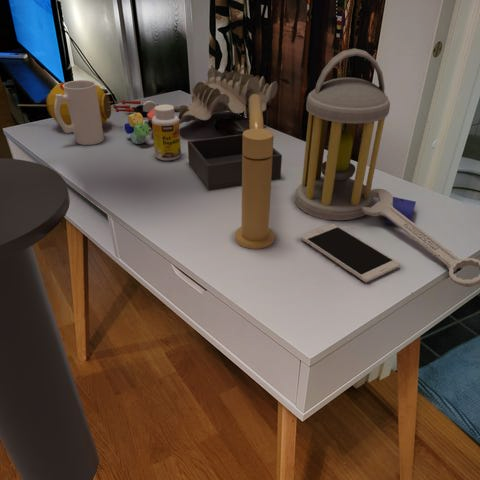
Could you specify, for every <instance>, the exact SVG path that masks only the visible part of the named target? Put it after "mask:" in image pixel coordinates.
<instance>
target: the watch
mask: <svg viewBox="0 0 480 480" xmlns="http://www.w3.org/2000/svg"><path fill="white" fill-rule="evenodd" d="M158 105H159V104H157V103H155V102H154V101H153V100H148V101H145V102H144V103H143V104H142V103H141V104H138V105H136V106H135V107H136V112H135V113H140V114H141V115H142V117H143V119H148V118H147V114H148V113H149V112H150V111H151V110H152V109H153V108H154V107H156V106H158ZM144 111H145V112H144Z"/></svg>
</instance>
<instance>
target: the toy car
mask: <svg viewBox="0 0 480 480" xmlns="http://www.w3.org/2000/svg"><path fill="white" fill-rule="evenodd" d="M213 126H214V127H213V128H214V130H215V131H216V132H218V131H219V132H223V133H225V136H231V135H239V134H243V132H244V131H246V130H248V129H250V125H249V119H247V118H245V117H243V116H228V117H223V118H219V119H216V120H215V121H214V124H213Z"/></svg>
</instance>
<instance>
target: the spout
mask: <svg viewBox="0 0 480 480" xmlns="http://www.w3.org/2000/svg"><path fill="white" fill-rule="evenodd" d="M247 120H248V121H249V125H250V129H248V130H246V131H244V132H243V144H242V153H243V155H244V156H246V157H248V158H252V159H264V158H268V157H270V156H272V154H273V148H274V136H275V135H274V132H273V131H272V130H269V129H266V128H265V127H264V126H265V125H264V115H263V111H262V101H261V98H260V96H259V95H258V94H252V95H251V96H250V98H249V100H248V105H247Z"/></svg>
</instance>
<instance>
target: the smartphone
mask: <svg viewBox="0 0 480 480" xmlns="http://www.w3.org/2000/svg"><path fill="white" fill-rule="evenodd" d="M300 239H301V241H302V242H304V243H305V244H307V245H308V246H310V247H312V248H313V249H315V250H316V251H317V252H319V253H321V254H322V255H324V256H325V257H327V258H328V259H330V260H331V261H332V262H334V263H335V264H337V265H338V266H340V267H341V268H343V269H344V270H346V271H348V272H349V273H350V274H351V275H353V276H355V277H357V278H358V279H360V280H361V281H363V282H364V283H369V282H371V281H373V280H375V279H378V278H379V277H381V276H384V275H385V274H388V273H390V272H391V271H394V270H396V269H398V268H400V267H401V264H400V263H399V261H396V260H395V259H393V258H391V257H389V256H388V255H386V254H384V253H383V252H381V251H379V250H378V249H376V248H374V247H373V246H371V245H370V244H368V243H366V242H365V241H363V240H362V239H359V238H358V237H357V236H355V235H353V234H351V233H350V232H348V231H346V230H345V229H343V228H341V227H340V226H338V225H336V224H335V223H330V224H328V225H325V226H322V227H321V228H317V229H314V230H312V231H310V232H307V233H305V234H302V235H301V236H300Z"/></svg>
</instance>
